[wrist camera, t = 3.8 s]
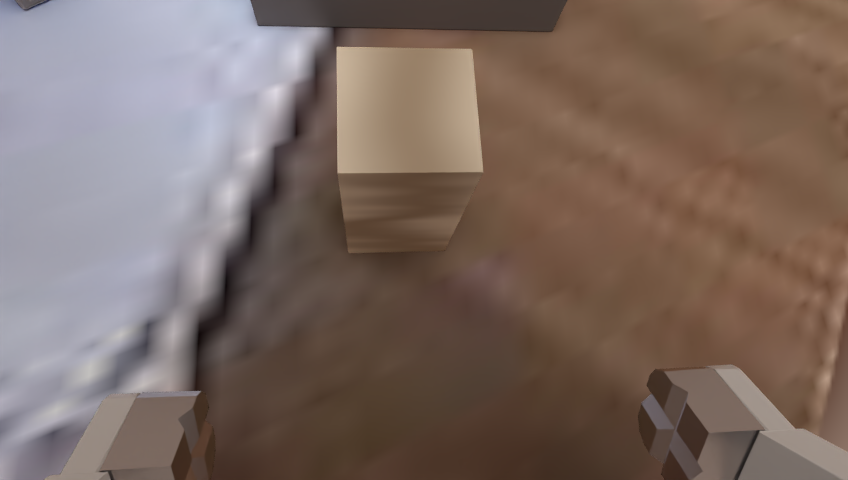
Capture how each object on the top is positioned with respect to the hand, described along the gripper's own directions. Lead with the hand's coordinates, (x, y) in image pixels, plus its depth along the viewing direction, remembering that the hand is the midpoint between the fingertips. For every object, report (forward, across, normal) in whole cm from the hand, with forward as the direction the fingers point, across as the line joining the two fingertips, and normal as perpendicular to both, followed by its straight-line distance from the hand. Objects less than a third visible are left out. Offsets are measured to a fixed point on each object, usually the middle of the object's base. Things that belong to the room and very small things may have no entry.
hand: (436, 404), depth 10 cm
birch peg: (+14, 0, +2) cm, 14 cm away
